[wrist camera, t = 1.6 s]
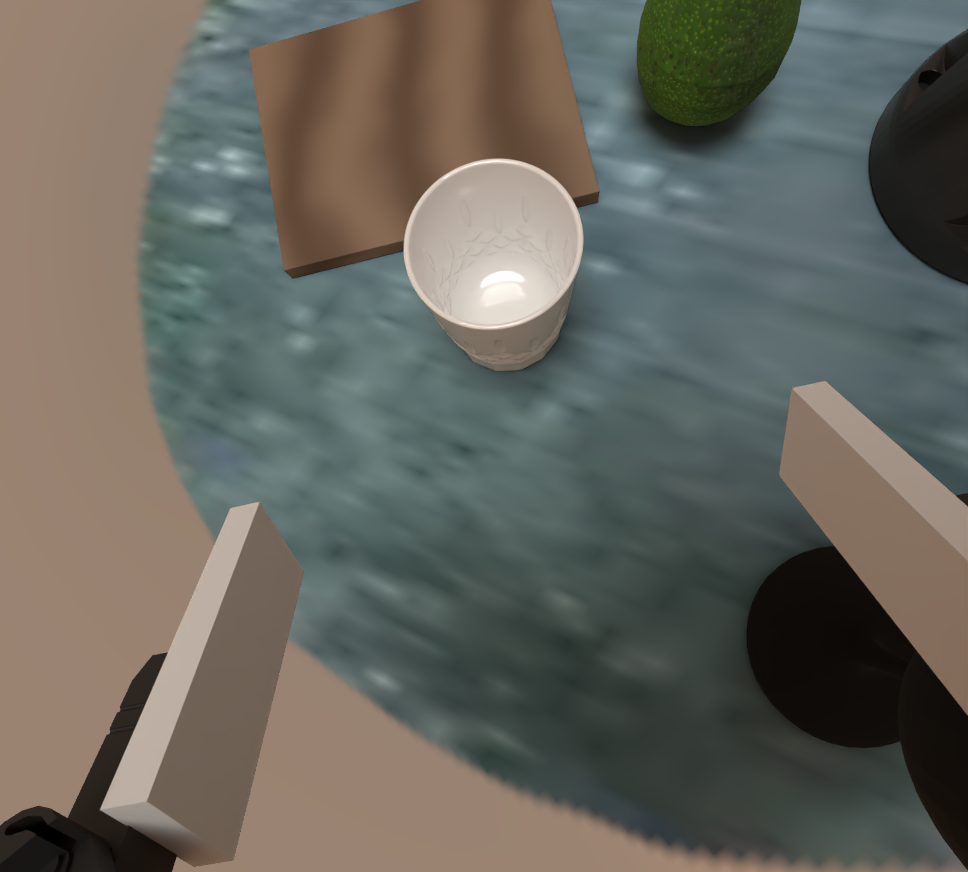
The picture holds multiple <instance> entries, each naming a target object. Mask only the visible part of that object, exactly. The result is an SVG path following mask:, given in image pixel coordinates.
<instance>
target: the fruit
mask: <svg viewBox="0 0 968 872" xmlns="http://www.w3.org/2000/svg"><path fill="white" fill-rule="evenodd" d="M800 5H801V0H647V1H646V4H645V7H644V10H643V13H642V16H641V21H640V28H639V34H638V41H637V67H638V76H639V81H640V84H641V87H642V90H643V93H644V95H645V97H646V100H647V102H648V104H649V105H650V106H651V107H652V108H653V109H654V110H655V111H656V112H657V113H658V114H660V115H661V116H663V117H664V118H666V119H667V120H670V121H673V122H676V123H679V124H682V125H686V126H705V125H710V124H713V123H716V122H719V121H723V120H726V119H728V118H729V117H731V116H732V115H734V114H735V113H737V112H738V111H740V110H741V109H743V108H744V107H746V106H747V105H748V104H750V103H751V102H752V101H753V100H754V99H755V98H756V97H757V96H758V95H759V94H760V93H761V92H762V91H763V90H764V89H765V88H766V87H767V86H768V84H769V83H770V82H771V81H772V80H773V79H774V78H775V75H776V73H777V71H778V69H779V67H780V65H781V63H782V61H783V59H784V57H785V55H786V53H787V51H788V49H789V46H790V44H791V42H792V39H793V36H794V33H795V30H796V26H797V23H798V17H799V11H800Z"/></svg>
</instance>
